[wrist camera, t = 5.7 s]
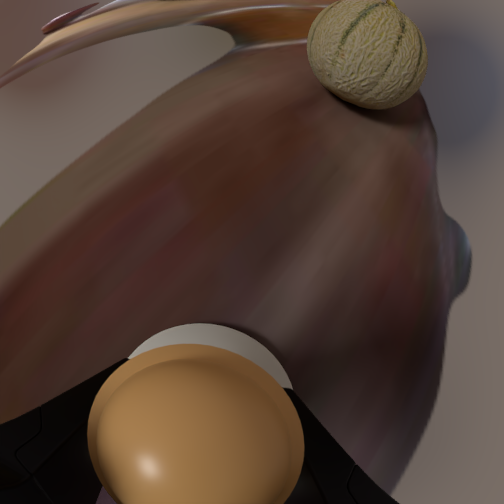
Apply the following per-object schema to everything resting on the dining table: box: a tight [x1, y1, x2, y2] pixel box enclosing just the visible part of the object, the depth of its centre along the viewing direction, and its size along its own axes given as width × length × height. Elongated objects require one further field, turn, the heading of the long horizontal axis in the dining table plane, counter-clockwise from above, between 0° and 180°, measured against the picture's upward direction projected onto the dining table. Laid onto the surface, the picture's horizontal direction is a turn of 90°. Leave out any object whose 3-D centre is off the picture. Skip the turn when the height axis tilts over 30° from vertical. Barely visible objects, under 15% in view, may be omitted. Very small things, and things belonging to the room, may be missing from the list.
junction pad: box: [128, 323, 293, 390], centre depth 16 cm, size 11×11×1 cm
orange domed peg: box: [87, 344, 304, 504], centre depth 8 cm, size 5×5×12 cm
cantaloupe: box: [307, 0, 428, 109], centre depth 28 cm, size 15×15×15 cm
